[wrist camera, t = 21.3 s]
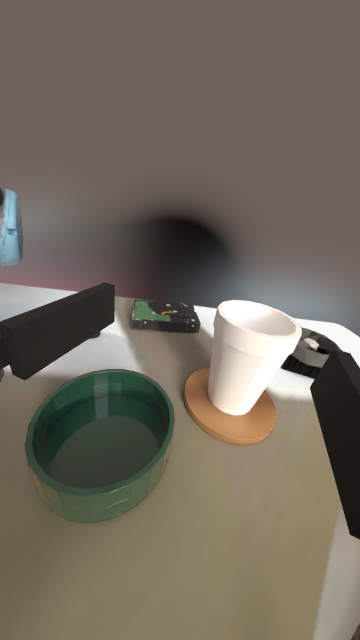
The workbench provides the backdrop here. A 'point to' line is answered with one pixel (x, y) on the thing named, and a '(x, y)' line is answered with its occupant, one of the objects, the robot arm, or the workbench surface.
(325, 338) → the cpu cooler
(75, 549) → the workbench surface
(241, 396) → the foam cup
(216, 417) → the pot holder
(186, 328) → the disk drive
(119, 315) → the workbench surface
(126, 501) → the pot
